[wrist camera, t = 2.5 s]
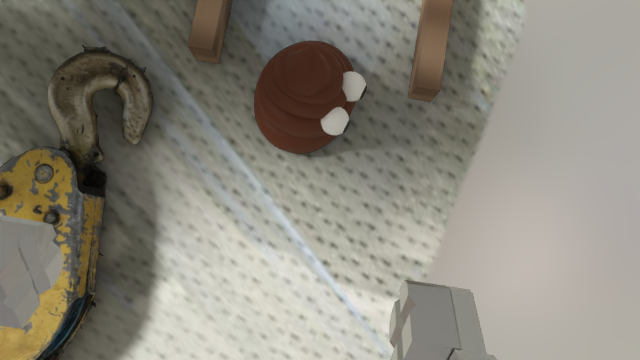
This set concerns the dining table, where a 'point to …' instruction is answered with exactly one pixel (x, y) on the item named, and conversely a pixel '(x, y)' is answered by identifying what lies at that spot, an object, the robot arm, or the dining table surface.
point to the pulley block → (70, 194)
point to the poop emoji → (306, 96)
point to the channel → (426, 58)
